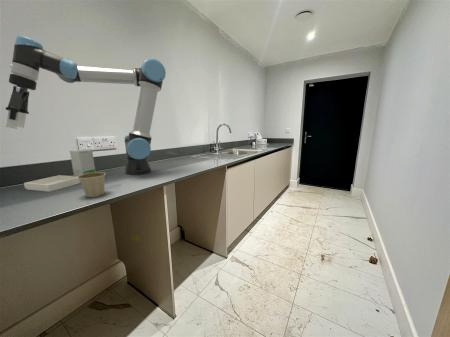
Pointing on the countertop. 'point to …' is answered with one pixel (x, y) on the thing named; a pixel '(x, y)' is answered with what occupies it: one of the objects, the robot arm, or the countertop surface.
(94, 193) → the flower pot
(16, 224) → the countertop surface
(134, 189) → the countertop surface
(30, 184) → the tray
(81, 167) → the skincare box
